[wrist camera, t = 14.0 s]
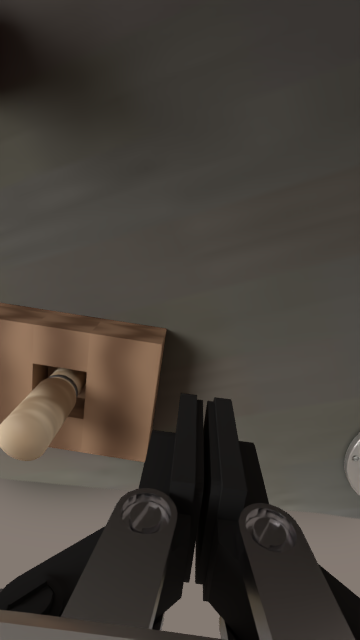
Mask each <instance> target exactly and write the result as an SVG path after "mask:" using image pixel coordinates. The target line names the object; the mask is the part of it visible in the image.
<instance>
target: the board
mask: <svg viewBox="0 0 360 640" xmlns="http://www.w3.org/2000/svg"><path fill="white" fill-rule="evenodd" d="M165 336H166V329H165V328H159V327H152V326H146V325H139V324H133V323H126V322H120V321H114V320H107V319H101V318H94V317H88V316H81V315H75V314H69V313H62V312H56V311H49V310H43V309H36V308H30V307H24V306H17V305H11V304H4V303H0V424H1V423H2V422H3V421H4V420H5V419H6V418H7V417H8V416H9V415H10V414H11V413H12V411H13V410H14V409H15V408H16V407H17V406H18V405H19V404H20V403H21V402H22V401H23V400H24V399H25V398H26V397H27V396H28V395H29V394H30V393H31V392H32V390H33V389H34V388H35V387H36V386H37V385H38V384H39V383H40V382H41V381H43V380H45V379H47V378H49V377H50V376H51V375H52V374H53V373H54V371H55V370H56V369H57V368H58V367H59V368H66V369H72V370H78V371H85V372H87V378H86V384H85V386H84V387H83V389H82V390H81V392H80V393H79V395H78V396H77V398H76V404H75V406H74V408H73V409H72V411H71V412H70V414H69V415H68V417H67V418H66V420H65V421H64V423H63V425H62V426H61V428H60V429H59V431H58V432H57V434H56V435H55V437H54V438H53V440H52V442H51V443H50V445H49V446H48V447H52V448H58V449H65V450H71V451H77V452H84V453H90V454H96V455H103V456H109V457H116V458H122V459H128V460H135V461H141V462H145V459H146V455H147V450H148V446H149V442H150V437H151V433H152V427H153V420H154V413H155V406H156V399H157V392H158V385H159V378H160V371H161V364H162V357H163V350H164V343H165Z"/></svg>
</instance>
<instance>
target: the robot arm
mask: <svg viewBox="0 0 360 640" xmlns="http://www.w3.org/2000/svg"><path fill="white" fill-rule="evenodd" d="M344 471H345V474H346V477H347V479H348V481H349V483H350V485H351V487H352V488H353V489H354V490H355V492H356V493H357V494H358V495H359V496H360V433H359V434H358V435H357V436H356V437H355V438H354V439H353V440H352V442H351V443H350V445H349V447H348V449H347V452H346V454H345V460H344ZM195 542H196V563H195V566H196V567H195V570H196V571H195V582H196V584H203V601H208V602H209V603H210V604H211V605H212V606H213V608H214V609H215V610H216V611H217V612H218V613H219V615H220V617H219V630H220V635H221V639H217V638H210V637H202V636H196V635H188V634H181V633H174V632H167V631H161V630H162V626H163V621H164V614H165V611H167V609H169V608H170V607H171V606H172V605H173V604H174V603H176V602H177V601H178V600H179V599H180V598H181V596H182V589H183V582H189V580H190V574H191V567H192V561H193V554H194V548H195ZM0 640H360V598H359V597H358V596H356V595H355V594H354V593H353V592H351V591H350V590H349V589H348V588H347V587H346V586H344V585H343V584H342V583H341V582H339V581H338V580H337V579H336V578H335V577H333V576H332V575H331V574H330V573H329V572H327V571H326V570H325V569H324V568H322V567H321V566H320V565H319V564H318V563H317V561H316V559H315V557H314V554H313V552H312V550H311V548H310V546H309V544H308V542H307V540H306V538H305V536H304V534H303V532H302V530H301V528H300V527H299V525H298V524H297V522H296V521H295V520H294V519H293V518H292V517H291V516H290V515H289V514H288V513H287V512H285V511H283V510H282V509H280V508H278V507H276V506H273V505H270V504H269V502H268V498H267V494H266V489H265V485H264V481H263V477H262V473H261V469H260V465H259V461H258V457H257V453H256V449H255V445H254V443H250V442H243V441H238V435H237V429H236V423H235V418H234V412H233V406H232V401H231V399H223V398H214V401H213V402H212V401H208V402H207V407H206V414H205V421H204V428H203V400H197V395H191V394H183V393H181V395H180V403H179V412H178V420H177V428H176V433H172V432H164V431H156V430H152V433H151V437H150V442H149V446H148V450H147V455H146V459H145V463H144V468H143V472H142V476H141V481H140V485H139V489H135V490H133V491H130V492H128V493H127V494H125V495H124V496H123V497H121V499H120V500H119V501H118V503H117V504H116V506H115V508H114V510H113V512H112V514H111V516H110V518H109V520H108V522H107V524H106V526H105V527H103V528H101V529H100V530H98V531H96V532H94V533H93V534H91V535H89V536H87V537H86V538H84V539H82V540H81V541H79V542H77V543H76V544H74V545H72V546H70V547H69V548H67V549H65V550H63V551H62V552H60V553H58V554H57V555H55V556H53V557H51V558H49V559H48V560H46V561H44V562H43V563H41V564H40V565H37V566H36V567H34V568H32V569H31V570H29V571H27V572H25V573H24V574H22V575H21V576H18V577H17V578H16V579H14V580H13V581H12V582H10V583H9V584H8V585H6V587H5V588H4V589H0Z"/></svg>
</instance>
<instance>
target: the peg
mask: <svg viewBox="0 0 360 640" xmlns="http://www.w3.org/2000/svg"><path fill="white" fill-rule="evenodd" d="M86 378H87V372H85V371H78V370H72V369H66V368H59V367H58V368H57V369H56V370H55V371H54V373H53V374H52V375H51V376H50V377H49V378H47V379H45V380H43V381H41V382H40V383H39V384H38V385H37V386H36V387H35V388H34V389H33V390H32V392H31V393H30V394H29V395H28V396H27V397H26V398H25V399H24V400H23V401H22V402H21V403H20V404H19V405H18V406H17V407H16V408H15V409H14V410H13V411H12V413H11V414H10V415H9V416H8V417H7V418H6V419H5V420H4V421H3V422H2V423H1V424H0V447H1V448H2V450H3V451H4V452H5V453H6V454H8V455H9V456H11V457H13V458H15V459H18V460H23V461H30V460H35V459H37V458H39V457H40V456H42V455H43V454H44V452H45V451H46V449H47V448H48V446H49V445H50V443H51V442H52V440H53V438H54V437H55V435H56V434H57V432H58V431H59V429H60V428H61V426H62V425H63V423H64V421H65V420H66V418H67V417H68V415H69V414H70V412H71V411H72V409H73V408H74V406H75V404H76V398H77V396H78V395H79V393H80V392H81V390H82V389H83V387H84V386H85V384H86Z"/></svg>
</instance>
